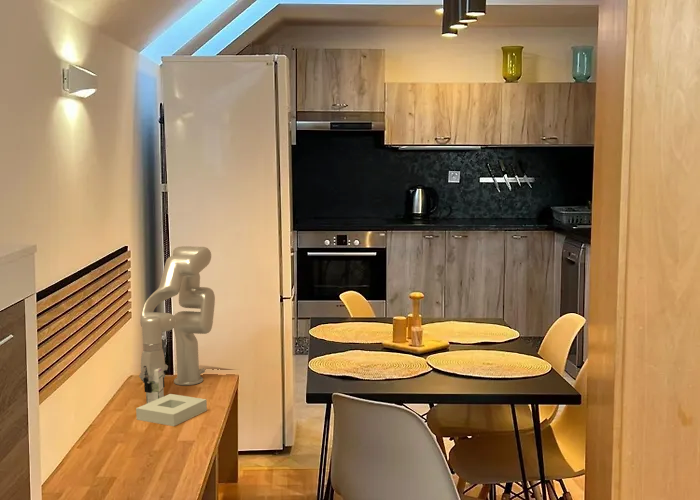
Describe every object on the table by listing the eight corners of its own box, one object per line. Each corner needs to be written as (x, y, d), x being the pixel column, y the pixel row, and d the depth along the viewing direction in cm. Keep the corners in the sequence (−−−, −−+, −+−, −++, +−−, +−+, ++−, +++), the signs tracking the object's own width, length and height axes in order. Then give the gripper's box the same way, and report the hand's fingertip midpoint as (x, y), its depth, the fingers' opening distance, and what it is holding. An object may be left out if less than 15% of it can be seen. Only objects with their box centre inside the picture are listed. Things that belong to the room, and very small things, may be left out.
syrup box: (164, 399, 334) (162, 365, 333) (159, 404, 328) (158, 369, 327) (151, 399, 335) (149, 365, 333) (146, 404, 329) (144, 369, 327)
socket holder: (170, 404, 328) (170, 393, 327) (206, 410, 320) (206, 399, 319) (136, 419, 310) (136, 408, 310) (173, 426, 302) (173, 414, 302)
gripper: (159, 341, 338) (161, 383, 340) (130, 351, 323) (132, 394, 325) (173, 343, 335) (175, 385, 337) (145, 352, 319) (147, 396, 322)
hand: (154, 389), depth 331 cm, fingers closed on syrup box, 7 cm apart
